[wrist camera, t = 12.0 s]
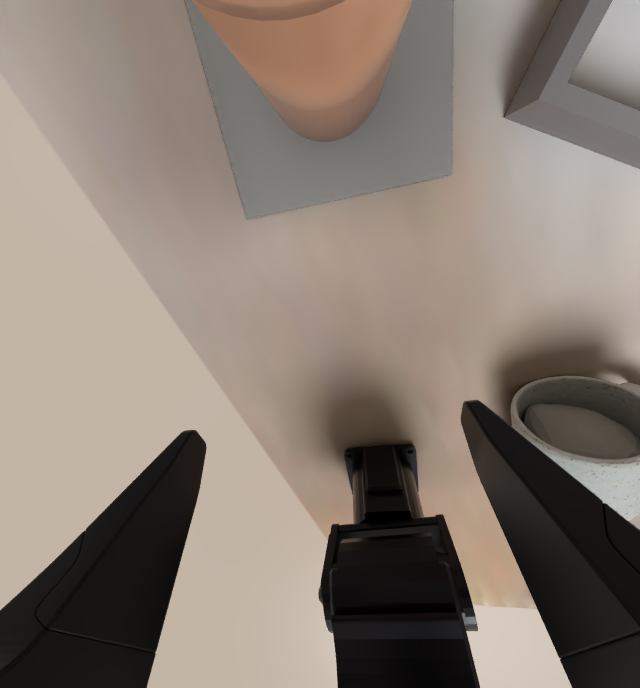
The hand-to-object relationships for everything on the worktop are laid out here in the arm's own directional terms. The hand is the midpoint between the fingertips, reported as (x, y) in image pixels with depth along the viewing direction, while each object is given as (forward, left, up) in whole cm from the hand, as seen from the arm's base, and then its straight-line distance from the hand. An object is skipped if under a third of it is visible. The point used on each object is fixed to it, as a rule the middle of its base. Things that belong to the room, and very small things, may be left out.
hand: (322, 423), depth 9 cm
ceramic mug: (-12, -17, -13) cm, 24 cm away
